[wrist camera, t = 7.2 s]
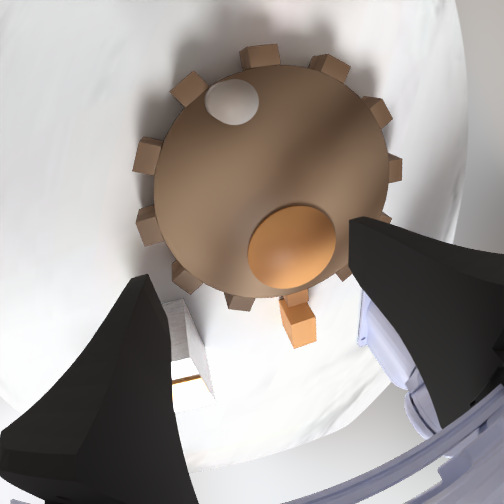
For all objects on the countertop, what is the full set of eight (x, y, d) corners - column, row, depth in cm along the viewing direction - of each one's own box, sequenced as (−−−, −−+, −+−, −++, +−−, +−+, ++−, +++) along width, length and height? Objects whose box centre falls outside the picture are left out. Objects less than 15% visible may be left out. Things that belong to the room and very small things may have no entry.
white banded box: (205, 346, 25) (216, 405, 20) (166, 356, 25) (171, 415, 20) (183, 297, 22) (190, 361, 17) (139, 309, 22) (136, 373, 16)
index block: (303, 317, 26) (316, 341, 24) (282, 324, 26) (294, 348, 23) (301, 293, 25) (315, 316, 22) (278, 300, 24) (291, 325, 22)
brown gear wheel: (417, 156, 20) (462, 177, 16) (293, 318, 25) (315, 360, 21) (242, -1, 12) (267, -31, 8) (95, 236, 17) (76, 280, 13)
